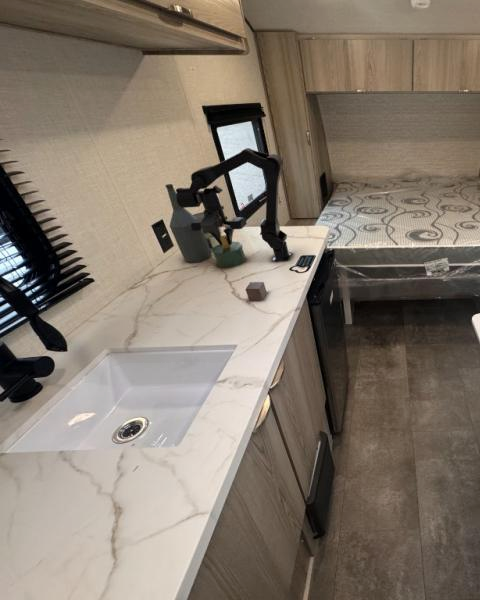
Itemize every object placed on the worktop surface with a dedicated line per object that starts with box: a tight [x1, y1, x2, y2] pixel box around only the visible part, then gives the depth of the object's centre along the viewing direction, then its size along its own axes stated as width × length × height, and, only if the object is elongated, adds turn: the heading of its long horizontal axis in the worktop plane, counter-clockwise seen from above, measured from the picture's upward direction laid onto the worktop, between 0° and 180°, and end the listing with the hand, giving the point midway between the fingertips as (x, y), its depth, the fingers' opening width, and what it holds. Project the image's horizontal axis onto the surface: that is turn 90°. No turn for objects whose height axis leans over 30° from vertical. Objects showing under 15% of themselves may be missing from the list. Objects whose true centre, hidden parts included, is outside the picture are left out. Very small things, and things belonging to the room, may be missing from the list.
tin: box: [213, 247, 246, 268], centre depth 131 cm, size 10×10×6 cm
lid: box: [211, 234, 243, 255], centre depth 128 cm, size 11×11×6 cm
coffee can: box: [193, 212, 224, 251], centre depth 142 cm, size 10×10×14 cm
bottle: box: [165, 183, 212, 264], centre depth 128 cm, size 10×10×30 cm
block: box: [245, 281, 268, 302], centre depth 108 cm, size 4×4×4 cm
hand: (226, 244), depth 128 cm, fingers open, 3 cm apart
